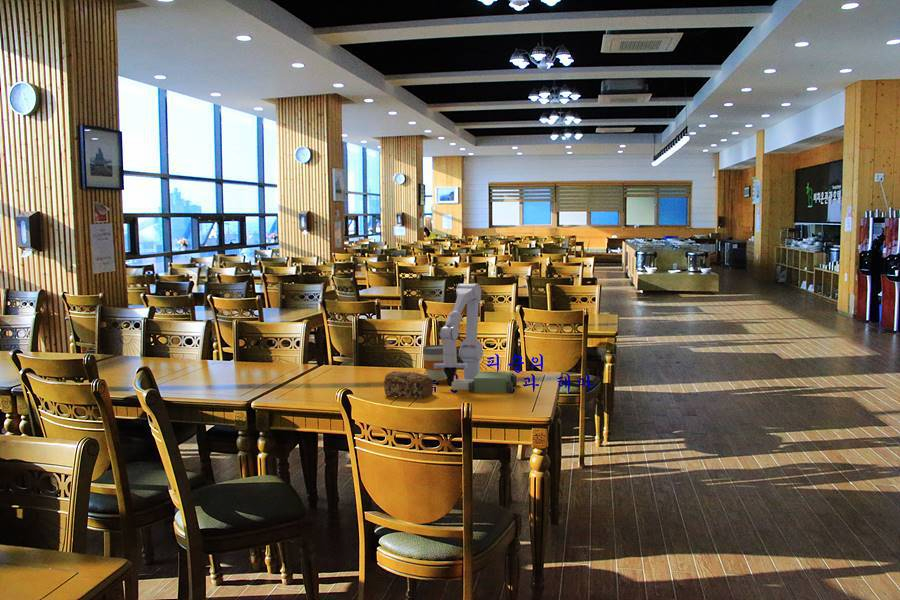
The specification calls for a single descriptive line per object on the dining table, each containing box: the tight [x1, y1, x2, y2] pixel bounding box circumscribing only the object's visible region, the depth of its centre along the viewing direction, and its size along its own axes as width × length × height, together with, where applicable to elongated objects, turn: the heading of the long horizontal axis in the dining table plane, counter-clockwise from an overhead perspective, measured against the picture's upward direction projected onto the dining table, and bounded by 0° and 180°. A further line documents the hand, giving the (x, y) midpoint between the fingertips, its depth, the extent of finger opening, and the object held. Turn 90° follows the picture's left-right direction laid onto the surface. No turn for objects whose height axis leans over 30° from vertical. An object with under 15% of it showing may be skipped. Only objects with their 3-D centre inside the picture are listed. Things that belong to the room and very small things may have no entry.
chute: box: [451, 378, 474, 391], centre depth 331 cm, size 7×10×3 cm
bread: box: [383, 371, 434, 400], centre depth 321 cm, size 19×11×10 cm, turn 60°
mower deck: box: [468, 371, 518, 393], centre depth 328 cm, size 18×18×6 cm
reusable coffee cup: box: [422, 344, 448, 381], centre depth 354 cm, size 13×12×15 cm
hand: (451, 384), depth 332 cm, fingers closed
